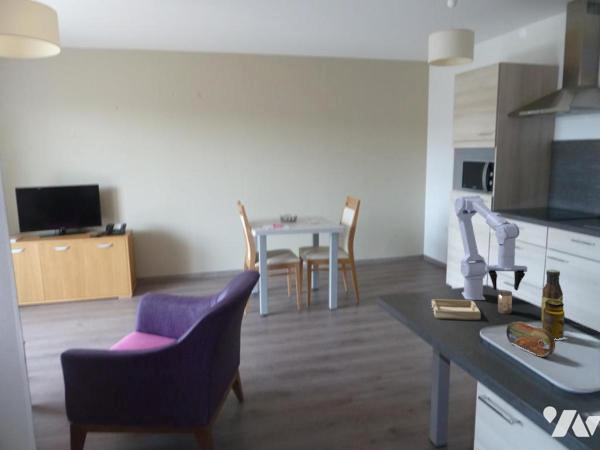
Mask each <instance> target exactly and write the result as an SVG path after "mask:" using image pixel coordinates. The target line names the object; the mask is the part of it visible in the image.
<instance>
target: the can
mask: <svg viewBox="0 0 600 450" xmlns="http://www.w3.org/2000/svg"><path fill="white" fill-rule="evenodd" d="M512 303H513V292H512V291H510V290H507V289H500V290H498V291H497V312H498V313H500V314H504V315H509V314H510V315H511V314H512V310H513V309H512Z"/></svg>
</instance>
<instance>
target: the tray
mask: <svg viewBox="0 0 600 450" xmlns="http://www.w3.org/2000/svg"><path fill="white" fill-rule="evenodd" d="M430 303H431V305H432V306H431V309H432V308H433V309H432V312H433V311H434V312H433V315H434V317H435V319H436V318H437V320H439V319H440V320H466V321H468V320H469V321H481V317H482V316H481V314H482V313H481V310H480V309H479V308H478V306H477V304H476V303H475V300H466V299H443V298H442V299H441V298H439V299H436V298H433V299H431V302H430Z"/></svg>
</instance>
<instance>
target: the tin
mask: <svg viewBox="0 0 600 450" xmlns="http://www.w3.org/2000/svg"><path fill="white" fill-rule="evenodd" d="M506 338H507V340H508V341H509V343H510V344H511V343H514V344H516V345H518V346H520V347H522V348H524V349H526V350H529V351H530V352H533V353H535V354H536V355H539V356H540V357H539V358H544V357H547V356H550V355H552V354H553V353H554V352H555V349H556V341H555V340H554V338H553V336H552V335H551V334H550V333H549V332H548V331H547V330H545V329H542V328H541V327H539V326H536V325H533V324H530V323H528V322H524V321H520V320H519V321H512V322H510V323H509V324H508V325H507V326H506Z"/></svg>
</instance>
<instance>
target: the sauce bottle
mask: <svg viewBox="0 0 600 450" xmlns="http://www.w3.org/2000/svg"><path fill="white" fill-rule="evenodd" d="M545 274H546V283H545V285H544V286H543V288H542V297H541V323H542V325H543V310H544V308H545V302H546V301H547V300H557V301H560V302H562V303H563V299H564V296H563V295H564V293H563V290H562V287H561V284H560V275H561V271H560V270H557V269H547V270H546V273H545ZM563 304H564V303H563Z"/></svg>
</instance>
